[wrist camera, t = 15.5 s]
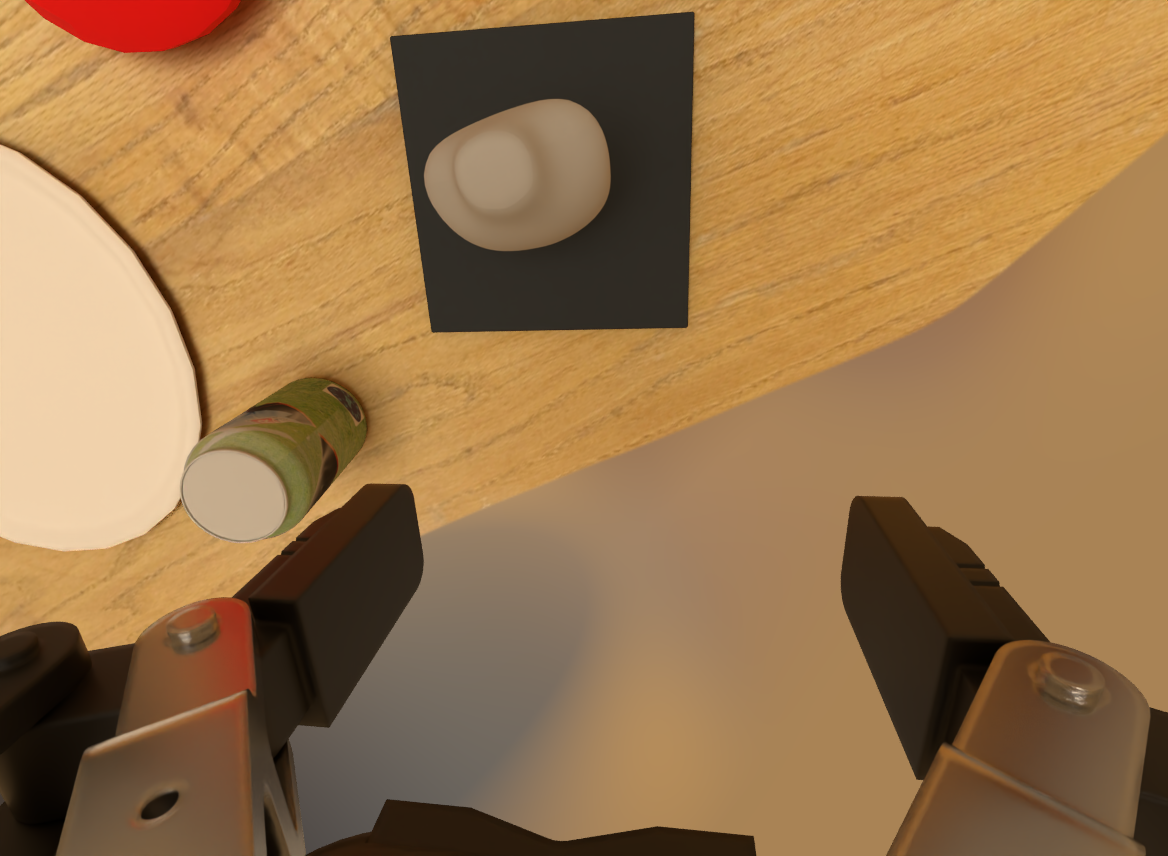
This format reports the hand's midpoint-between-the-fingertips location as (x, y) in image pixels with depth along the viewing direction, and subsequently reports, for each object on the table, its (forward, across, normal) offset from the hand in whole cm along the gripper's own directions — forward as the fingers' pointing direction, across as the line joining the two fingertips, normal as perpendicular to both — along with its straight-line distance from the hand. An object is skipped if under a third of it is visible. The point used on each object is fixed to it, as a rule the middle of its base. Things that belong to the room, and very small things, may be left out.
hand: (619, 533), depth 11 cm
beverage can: (+25, +20, +7) cm, 33 cm away
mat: (+25, +6, -6) cm, 26 cm away
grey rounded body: (+24, +5, -6) cm, 26 cm away
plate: (+24, +44, +3) cm, 50 cm away
